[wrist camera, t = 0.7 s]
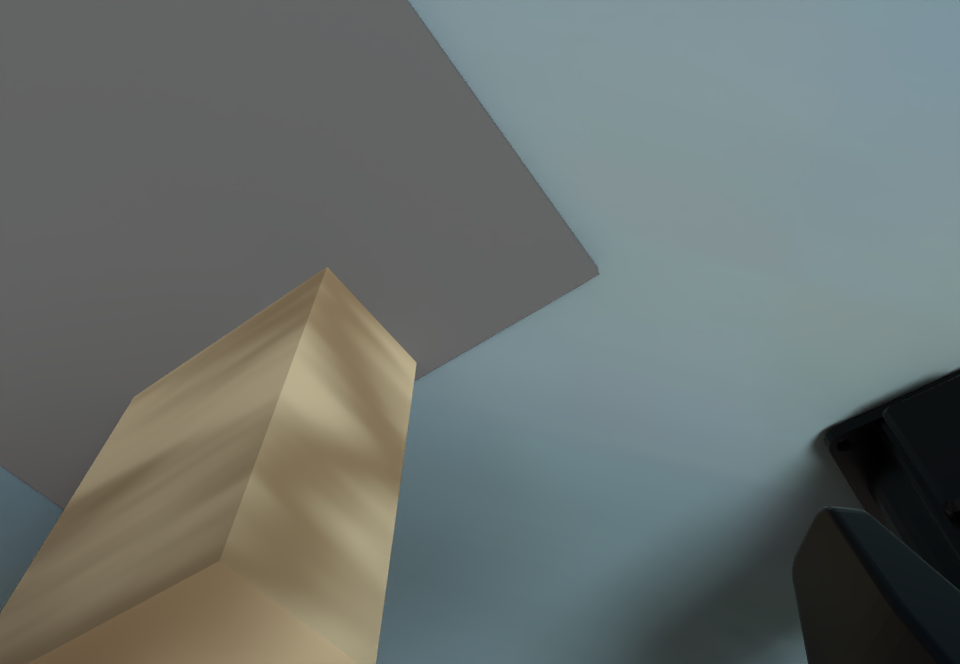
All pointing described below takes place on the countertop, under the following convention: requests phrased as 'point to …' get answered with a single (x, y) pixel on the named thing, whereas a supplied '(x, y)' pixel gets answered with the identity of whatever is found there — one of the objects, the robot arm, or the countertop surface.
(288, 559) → the maple block
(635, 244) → the countertop surface
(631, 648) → the countertop surface
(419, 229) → the mat
